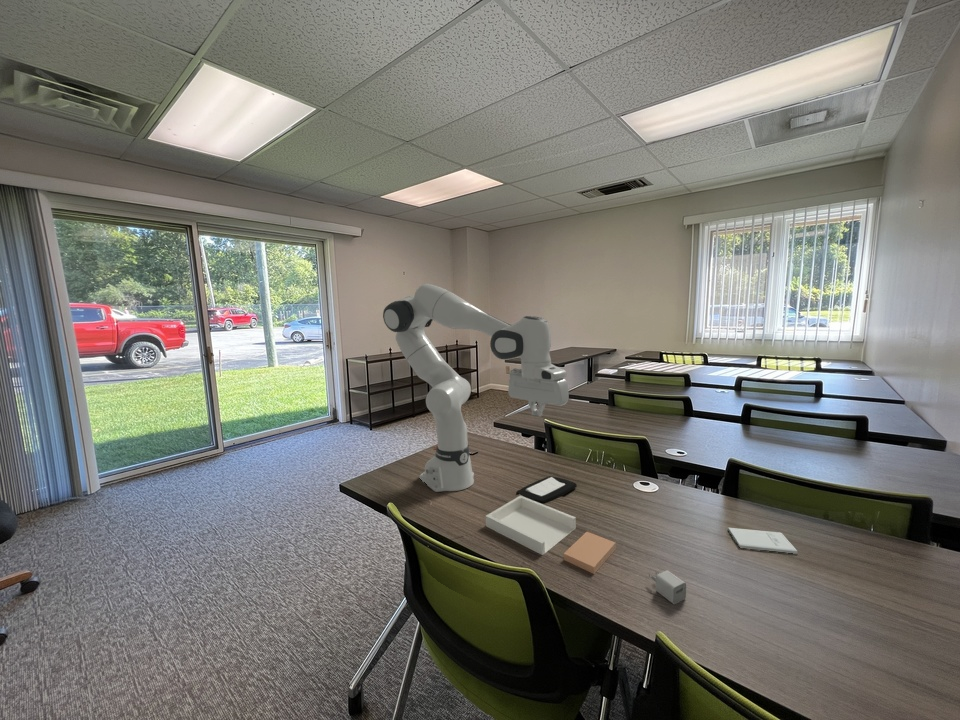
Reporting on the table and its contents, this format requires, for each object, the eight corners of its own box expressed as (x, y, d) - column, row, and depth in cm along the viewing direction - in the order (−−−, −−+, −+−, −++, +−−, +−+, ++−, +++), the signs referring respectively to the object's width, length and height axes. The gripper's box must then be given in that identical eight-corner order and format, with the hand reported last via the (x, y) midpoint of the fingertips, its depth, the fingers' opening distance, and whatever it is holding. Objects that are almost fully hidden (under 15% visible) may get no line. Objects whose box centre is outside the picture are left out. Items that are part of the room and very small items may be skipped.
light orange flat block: (564, 564, 93) (563, 553, 93) (586, 541, 102) (586, 531, 102) (594, 578, 88) (594, 567, 87) (615, 553, 96) (615, 542, 96)
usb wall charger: (672, 605, 78) (673, 588, 78) (645, 584, 85) (646, 568, 84) (686, 598, 80) (686, 581, 80) (658, 578, 86) (658, 562, 86)
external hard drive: (727, 532, 103) (780, 537, 100) (739, 550, 96) (797, 556, 92) (727, 526, 103) (780, 531, 100) (739, 544, 95) (797, 550, 92)
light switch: (549, 472, 142) (580, 480, 131) (550, 479, 142) (580, 488, 132) (511, 489, 130) (542, 500, 119) (512, 497, 130) (543, 508, 119)
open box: (486, 528, 109) (485, 515, 109) (520, 507, 121) (520, 495, 120) (542, 558, 95) (542, 543, 95) (575, 530, 106) (575, 517, 106)
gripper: (503, 369, 117) (504, 412, 119) (559, 375, 103) (559, 423, 105) (516, 366, 122) (517, 408, 123) (571, 371, 107) (571, 418, 109)
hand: (537, 415), depth 114 cm, fingers closed
